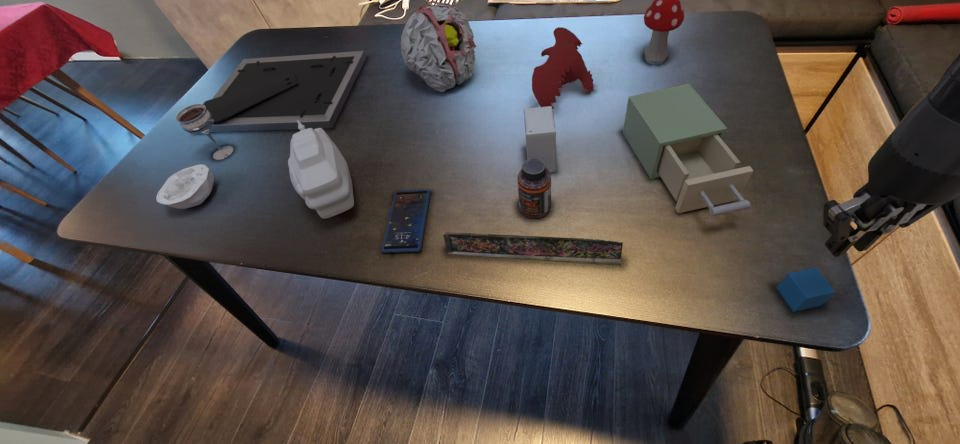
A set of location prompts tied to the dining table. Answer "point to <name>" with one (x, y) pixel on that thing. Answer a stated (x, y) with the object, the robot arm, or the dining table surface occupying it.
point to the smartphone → (406, 222)
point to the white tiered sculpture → (320, 172)
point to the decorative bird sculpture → (560, 68)
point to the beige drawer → (704, 175)
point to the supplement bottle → (534, 188)
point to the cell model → (187, 187)
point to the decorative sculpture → (439, 45)
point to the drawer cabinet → (667, 122)
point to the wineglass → (201, 126)
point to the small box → (541, 135)
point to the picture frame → (285, 92)
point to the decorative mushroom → (661, 27)
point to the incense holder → (534, 248)
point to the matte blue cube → (805, 289)
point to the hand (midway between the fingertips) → (844, 247)
